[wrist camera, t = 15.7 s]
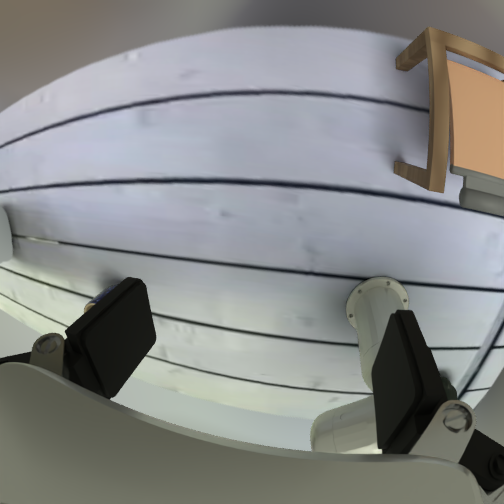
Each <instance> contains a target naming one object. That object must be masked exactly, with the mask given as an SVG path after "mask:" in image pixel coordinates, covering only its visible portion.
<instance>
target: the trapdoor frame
mask: <svg viewBox="0 0 504 504" xmlns="http://www.w3.org/2000/svg"><path fill="white" fill-rule="evenodd" d="M446 50H447V51H450V52H453V53H456V54H459V55H462V56H464V57H467V58H469V59H472V60H474V61H477V62H479V63H482V64H484V65H486V66H488V67H491V68H493V69H495V70H497V71H499V72H501V73H503V74H504V57H503V56H501V55H499V54H497V53H495V52H493V51H491V50H489V49H487V48H484V47H482V46H480V45H478V44H475V43H473V42H471V41H468V40H466V39H463V38H461V37H458V36H455V35H453V34H450V33H447V32H444V31H441V30H438V29H435V28H431V27H427V28H426V29H425V30H424V31H423V32H422V33H421V34H420V35H419V36H418V37H417V38H416V39H415V40H414V41H413V42H412V43H411V44H410V45H409V46H408V47H407V48H406V49H405V50H404V51H403V52H402V53H401V54H400V55H399V56H398V57H397V58H396V69H398V70H403V71H409V70H410V69H412V68H413V67H414V66H416V65H417V64H419V63H420V62H421V61H423V60H424V59H426V58H428V72H429V97H430V119H429V145H428V159H427V170H426V169H423V168H420V167H417V166H414V165H411V164H407V163H402V162H396V161H395V164H394V174H397V175H399V176H401V177H403V178H405V179H407V180H409V181H411V182H413V183H415V184H417V185H419V186H421V187H423V188H425V189H427V190H429V191H434V192H439V193H444V187H445V178H446V169H447V158H448V143H449V80H448V67H447V56H446ZM502 82H504V80H502Z"/></svg>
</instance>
